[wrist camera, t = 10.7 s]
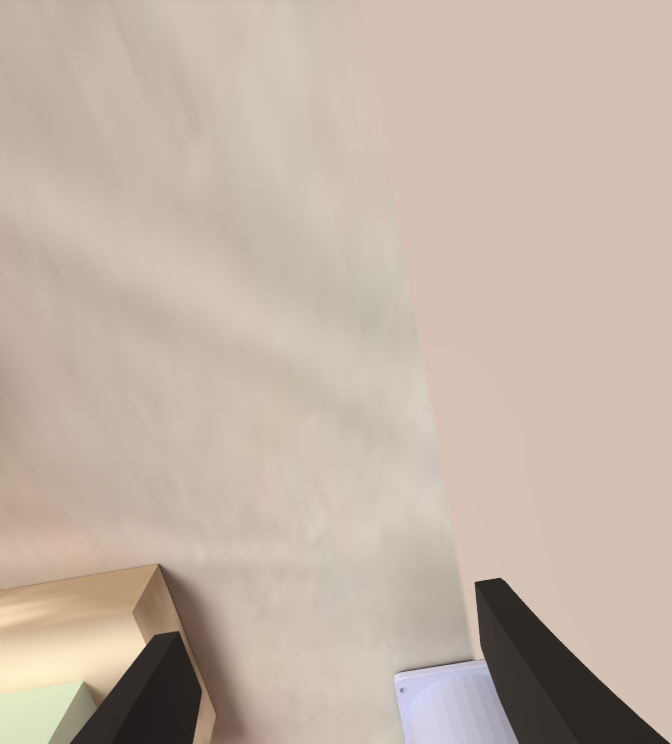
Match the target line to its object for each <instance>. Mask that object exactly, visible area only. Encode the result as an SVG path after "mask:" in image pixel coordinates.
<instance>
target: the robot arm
mask: <svg viewBox="0 0 672 744" xmlns="http://www.w3.org/2000/svg"><path fill="white" fill-rule="evenodd" d="M475 591H476V602H477V612H478V622H479V634H480V644H481V649H482V651H483V654H484V657H485V659H481V660H475V661H469V662H462V663H456V664H450V665H444V666H437V667H431V668H425V669H419V670H412V671H406V672H400V673H398V674H396V675H395V677H394V684H395V689H396V694H397V700H398V705H399V710H400V716H401V721H402V726H403V732H404V737H405V743H406V744H670V743H669V742H668V741H667V740H665V739H664V738H663V737H662V736H661V735H660V734H659V733H657V732H656V731H655V730H654V729H653V728H652V727H651V726H649V725H648V724H647V723H646V722H645V721H644V720H643V719H642V718H640V717H639V716H638V715H637V714H636V713H635V712H634V711H633V710H632V709H631V708H629V707H628V706H627V705H626V704H625V703H624V702H623V701H622V700H621V699H620V698H618V697H617V696H616V695H615V694H614V693H613V692H612V691H611V690H610V689H609V688H608V687H607V686H606V685H604V683H602V682H601V681H600V680H599V679H598V678H597V677H596V676H595V675H594V674H593V673H592V672H591V671H590V670H589V669H588V668H587V667H586V666H585V665H584V664H583V663H582V662H581V661H580V660H579V659H578V658H577V657H576V656H575V655H574V654H573V653H572V652H570V650H569V649H568V648H567V647H566V646H565V645H564V644H563V643H562V642H561V641H560V640H558V638H557V637H556V636H555V635H554V634H553V633H552V632H551V631H550V630H549V629H548V628H547V627H546V626H545V625H544V624H543V623H542V622H541V621H540V620H539V618H538V617H537V616H536V615H535V614H534V613H533V612H532V611H531V610H530V609H529V608H528V607H527V605H526V604H525V603H524V602H523V601H522V600H521V599H520V598H519V597H518V595H517V594H516V593H515V592H514V591H513V590H512V589H511V587H510V586H509V585H508V584H507V583H506V582H505V581H504V580H503V579H501V578H496V579H490V580H484V581H478V582H475ZM201 696H202V689H201V686H200V683H199V681H198V678H197V676H196V673H195V671H194V668H193V665H192V663H191V660H190V658H189V655H188V653H187V650H186V647H185V645H184V642H183V640H182V637H181V635H180V632H179V631H174V632H168V633H162V634H156V635H154V636H153V637H152V639H151V640H150V641H149V642H148V644H147V645H146V646H145V647H144V649H143V650H142V651H141V653H140V654H139V655H138V657H137V658H136V659H135V660H134V662H133V663H132V664H131V666H130V667H129V668H128V670H127V671H126V672H125V673H124V675H123V676H122V677H121V679H120V680H119V681H118V683H117V684H116V685H115V686H114V688H113V689H112V690H111V692H110V693H109V694H108V695H107V697H106V698H105V699H104V701H103V702H102V703H101V705H100V706H99V707H98V708H97V710H96V711H95V712H94V713H93V715H92V716H91V717H90V718H89V720H88V721H87V722H86V724H85V725H84V726H83V727H82V729H81V730H80V731H79V732H78V734H77V735H76V736H75V737H74V739H73V740H72V741H71V743H70V744H193V740H194V735H195V730H196V725H197V720H198V714H199V708H200V702H201Z"/></svg>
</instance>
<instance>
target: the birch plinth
mask: <svg viewBox="0 0 672 744" xmlns="http://www.w3.org/2000/svg"><path fill="white" fill-rule="evenodd" d="M174 631H179V632H180V635H181V637H182V640H183V642H184V645H185V647H186V650H187V653H188V655H189V658H190V660H191V663H192V665H193V668H194V671H195V673H196V676H197V678H198V681H199V683H200V686H201V689H202V696H201V702H200V708H199V714H198V720H197V725H196V730H195V735H194V740H193V744H210V740H211V736H212V732H213V728H214V724H215V719H216V713H215V710H214V708H213V705H212V703H211V700H210V697H209V695H208V692H207V689H206V687H205V684H204V682H203V679H202V676H201V674H200V671H199V669H198V666H197V663H196V661H195V658H194V656H193V653H192V650H191V648H190V645H189V643H188V640H187V637H186V635H185V632H184V630H183V627H182V624H181V622H180V619H179V617H178V614H177V611H176V609H175V606H174V603H173V601H172V598H171V596H170V593H169V590H168V588H167V585H166V583H165V580H164V577H163V575H162V572H161V570H160V567H159V564H155V565H149V566H143V567H137V568H131V569H126V570H120V571H114V572H108V573H102V574H96V575H90V576H84V577H78V578H72V579H67V580H61V581H55V582H49V583H43V584H37V585H31V586H25V587H19V588H13V589H7V590H2V591H0V695H1V694H7V693H13V692H19V691H25V690H31V689H37V688H43V687H50V686H56V685H62V684H68V683H74V682H80V681H84V683H85V685H86V687H87V689H88V691H89V693H90V695H91V697H92V699H93V701H94V703H95V705H96V707H97V708H98V707H99V706H100V705H101V703H102V702H103V701H104V699H105V698H106V697H107V695H108V694H109V693H110V692H111V690H112V689H113V688H114V686H115V685H116V684H117V683H118V681H119V680H120V679H121V677H122V676H123V675H124V673H125V672H126V671H127V670H128V668H129V667H130V666H131V664H132V663H133V662H134V660H135V659H136V658H137V657H138V655H139V654H140V653H141V651H142V650H143V649H144V647H145V646H146V645H147V644H148V642H149V641H150V640H151V639H152V637H153V636H154V635H156V634H162V633H168V632H174Z"/></svg>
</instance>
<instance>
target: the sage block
mask: <svg viewBox="0 0 672 744" xmlns="http://www.w3.org/2000/svg"><path fill="white" fill-rule="evenodd" d="M96 710H97V707H96V705H95V703H94V701H93V699H92V697H91V695H90V693H89V691H88V689H87V687H86V685H85V683H84V681H80V682H74V683H68V684H62V685H56V686H50V687H43V688H37V689H31V690H25V691H19V692H13V693H7V694H1V695H0V744H70V743H71V741H72V740H73V739H74V737H75V736H76V735H77V734H78V732H79V731H80V730H81V729H82V727H83V726H84V725H85V724H86V722H87V721H88V720H89V718H90V717H91V716H92V715H93V713H94V712H95V711H96Z"/></svg>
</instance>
